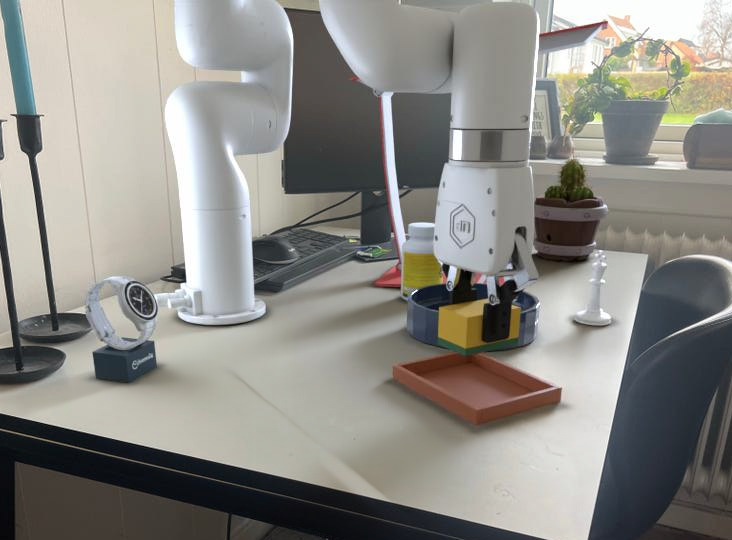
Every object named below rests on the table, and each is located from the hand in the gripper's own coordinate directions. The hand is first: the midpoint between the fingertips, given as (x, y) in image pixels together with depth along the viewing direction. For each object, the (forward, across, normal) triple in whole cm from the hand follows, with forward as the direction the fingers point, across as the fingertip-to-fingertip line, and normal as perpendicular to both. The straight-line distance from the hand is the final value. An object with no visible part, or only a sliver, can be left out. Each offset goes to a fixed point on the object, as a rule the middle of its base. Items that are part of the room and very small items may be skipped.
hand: (478, 331), depth 73 cm
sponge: (+1, 0, 0) cm, 1 cm away
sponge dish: (+7, 0, 0) cm, 7 cm away
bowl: (+7, -16, +13) cm, 22 cm away
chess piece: (+7, -12, +32) cm, 35 cm away
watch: (+7, -25, -30) cm, 40 cm away
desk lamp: (+7, -40, +31) cm, 51 cm away
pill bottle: (+7, -34, +18) cm, 39 cm away
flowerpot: (+7, -46, +62) cm, 78 cm away
